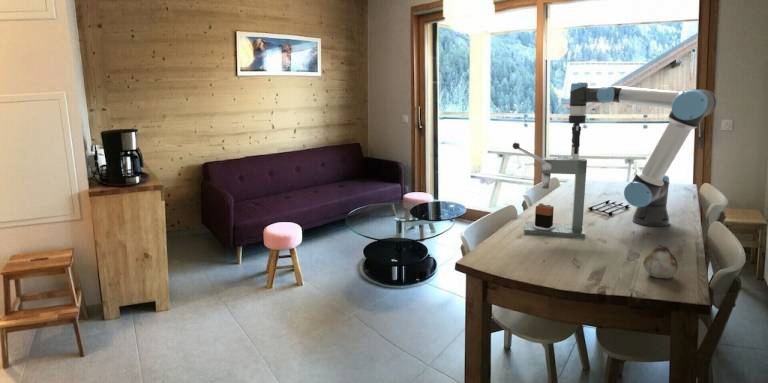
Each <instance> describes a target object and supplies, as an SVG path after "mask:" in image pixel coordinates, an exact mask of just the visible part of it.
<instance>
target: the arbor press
mask: <svg viewBox="0 0 768 383" xmlns="http://www.w3.org/2000/svg"><path fill="white" fill-rule="evenodd" d="M512 148H513V149H514V150H518V151H521V152H522V153H524V154H525V155H527V156H529V157H530V158H532V159H534V160H536V161H538V162H540V163H541V186H540V187H541V189H547V190H548V189H550V188H551V174H553V175H555V174H556V175H557V174H559V175H574V185H573V186H574V187H573V199H572V200H573V201H572V216H571V217H572V218H571V223H555V222H553V226H551V227H549V228H546V227H541V226H536V225H535V221H525V224H524V229H523V230H524V231H523V233H524V235H529V234H530V235H531V236H543V237H544V236H545V237H546V236H547V237H559V238H570V239H586V232H585V226H584V224H583V223H584V213H585V212H584V211H585V209H584V208H585V196H586V195H585V194H586V180H587V167H588V166H587V164H588V159H587V158H572V157H571V158H570V157H540V156H538V155H537V154H534V153H533V152H531V151H530V150H528V149H527V148H525V147H523V146H521V145H520V143H519V142H517V141H515V142H514V143H512Z"/></svg>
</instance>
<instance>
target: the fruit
mask: <svg viewBox="0 0 768 383" xmlns="http://www.w3.org/2000/svg"><path fill="white" fill-rule="evenodd" d="M643 268H644V270H645V271H646V273H647V274H648V275H649V276H652V277H653V278H657V279H670V278H672V277H673V276H675V275H676V273H677V271H678V268H679V263H678V260H677V258H676V256H675V255H674V254H673V253H672V252H671V251H670V249H669V248H668V247H666V246H664V245H661V244H659V245H658V246H656V247H655V248H653V249H652V251H651V252H650V253H648V254H647V255H646V256H645V258H644V259H643Z"/></svg>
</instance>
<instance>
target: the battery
mask: <svg viewBox="0 0 768 383" xmlns="http://www.w3.org/2000/svg"><path fill="white" fill-rule="evenodd" d="M534 216H535V218H534V222H535V225H536V226H541V227H546V228H549V227H551V226H553V223H554V206H552V205H551V204H544V203H542V202H541V203H538V205H536V206H535V214H534Z"/></svg>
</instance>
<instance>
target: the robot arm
mask: <svg viewBox="0 0 768 383" xmlns="http://www.w3.org/2000/svg"><path fill="white" fill-rule="evenodd" d="M569 90H570V92H569V94H570V95H569V96H570V97H569V107H567V109H568V112H569V113H568V114H569V115H568V124H572V127H571V134H572V137H571V151H570V157H571V158H579V156H580V155H579V154H580V152H579V151H580V142H581V141H580V140H581V139H580V138H581V131H582V126H581V125H580V124H585V123H586V114H587V103H596V104H597V103H599V104H605V103H620V104H629V105H636V106H637V105H638V106H647V107H653V108H654V107H655V108H663V109H670V110H671V111H670V113H668V117H667V118H668V119H669V123H668V124H667V126H666V128H665V129H664V131H663V133H662V135H661V136H660V139H659V140H658V141H657V143H656V146H655V148H654V149H653V150H652V153H651V154H650V157H649V158H648V160H647V162H646V164H645V166H643V168H642V170H640V171H638V172H636V173H635V175H634V178H633V179H632V181H631V182H629V183H628V184H626V186H625V187H624V190H623V196H624V199H625V201H626V202H627V203H628V204H629V205H631V206H633V207H636V209H635V211H634V213H633V215H632V222H633V223H636V224H639V225H643V226H648V227H649V226H650V227H665V226H668V225H669V224H670V216H669V214H668V209H667V203H668V194H669V186H670V176H669V175H666V173H667V172H668V170H669V168H670V166H671V165H672V163H673V162H674V160H675V158H676V156H677V155H678V153H679V152H680V150H681V148H682V146H683V144H684V142H685V141H686V140H687V138H688V136H689V135H690V133H691V131H692V130H694V129H697V128H699V126H700V124H701V123H702V121H703V119H704V117H707V116H709V115H711V114H712V113H713V112H714V110H715V109H716V108H717V107H716V106H717V103H718V101H717V98H716V96H715V94H714V93H713V92H712V91H710V90H708V89H702V88H700V89H699V88H698V89H695V88H693V89H684V90H682V91H678V90H677V91H676V90H666V89H665V90H663V89H655V88H654V89H653V88H652V89H651V88H643V87H630V86H621V85H616V84H615V85H613V84H612V85H596V86H595V85H593V86H590V85H589V83H588V82H586V81H578V82H572V83H571V84H570V89H569Z"/></svg>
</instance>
